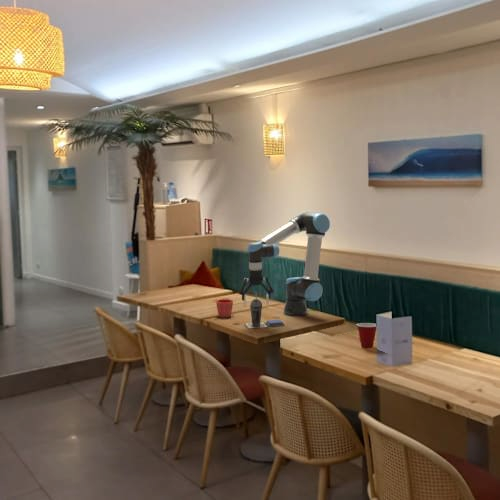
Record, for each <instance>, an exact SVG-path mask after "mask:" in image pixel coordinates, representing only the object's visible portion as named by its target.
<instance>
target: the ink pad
mask: <svg viewBox="0 0 500 500" xmlns="http://www.w3.org/2000/svg"><path fill="white" fill-rule="evenodd" d="M265 324H266V325H267V326H268V327H269V328H271V327H272V328H273V327H274V328H275V327H284V326H285V323H284V322H283V321H282V320H281V319H270V320H269V319H268V320H267V321H265Z"/></svg>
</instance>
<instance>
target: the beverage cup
mask: <svg viewBox="0 0 500 500" xmlns="http://www.w3.org/2000/svg"><path fill="white" fill-rule="evenodd" d="M257 296H258V295H257V291H256V292H255V298H254V299H252V300H251V301H250V305H249V306H250V307H249V308H250V316H251V323H252V325H253V326H260V323H262V320H261V319H262V311H263V310H262V309H263V302H262V301H261V300H260V299H257Z"/></svg>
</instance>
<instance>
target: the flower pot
mask: <svg viewBox="0 0 500 500" xmlns="http://www.w3.org/2000/svg"><path fill="white" fill-rule="evenodd" d="M215 302H216V308H217V314H218V315H217V316H218V317H221V318H228V317H229V318H230V317H231V316H232V311H233V304H234V300H232V299H218V300H216V301H215Z"/></svg>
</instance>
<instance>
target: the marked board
mask: <svg viewBox="0 0 500 500" xmlns="http://www.w3.org/2000/svg"><path fill="white" fill-rule="evenodd" d="M244 326H245V327H246V328H247V329H248V330H257V329H269V328H270V327H269V326H268V325H267V324H266V322H260V326H253V325H252V322H250V323H244Z"/></svg>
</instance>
